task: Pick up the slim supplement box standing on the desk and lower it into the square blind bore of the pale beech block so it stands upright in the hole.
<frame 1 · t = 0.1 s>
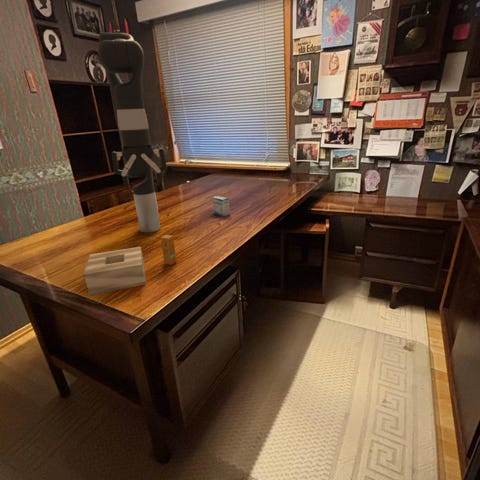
hand: (143, 187, 87), 29 cm above the table, fingers open, 8 cm apart
medicine box: (221, 214, 155), on the table
supplement box: (170, 263, 106), on the table
bore block: (119, 278, 97), on the table
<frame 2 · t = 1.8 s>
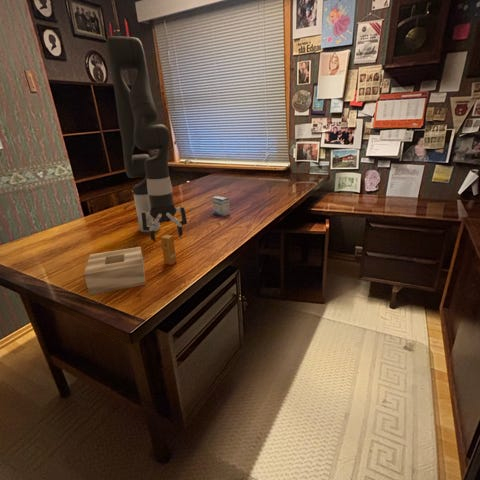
hand: (167, 238, 102), 9 cm above the table, fingers open, 8 cm apart
nothing on the table moved.
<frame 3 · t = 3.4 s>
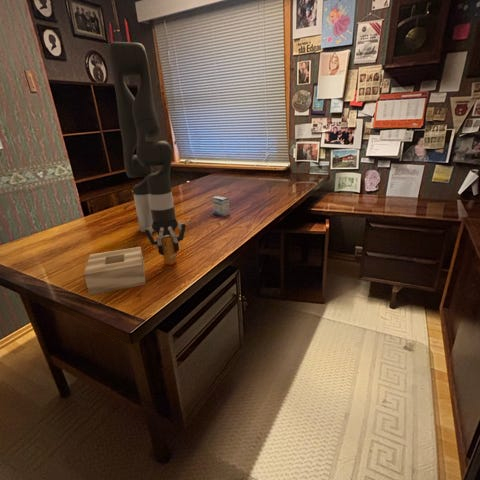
hand: (169, 252, 104), 4 cm above the table, fingers closed on supplement box, 4 cm apart
supplement box: (170, 263, 106), on the table, touching gripper
everything else where it was.
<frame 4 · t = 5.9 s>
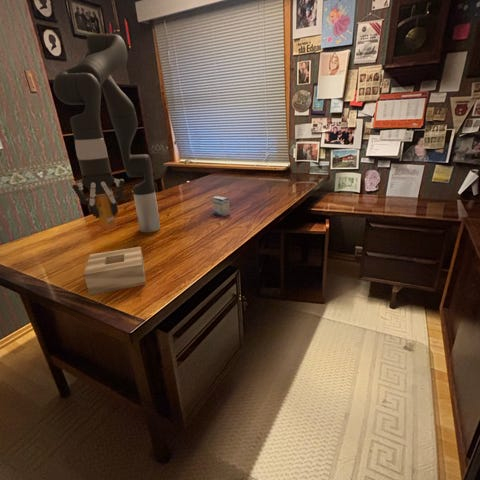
hand: (106, 215, 88), 21 cm above the table, fingers closed on supplement box, 4 cm apart
supplement box: (109, 228, 90), point 17 cm above the table, touching gripper
everything else where it was.
when the fingers open (8 cm above the table, at t = 8.4 s): supplement box drops 3 cm, resting on bore block.
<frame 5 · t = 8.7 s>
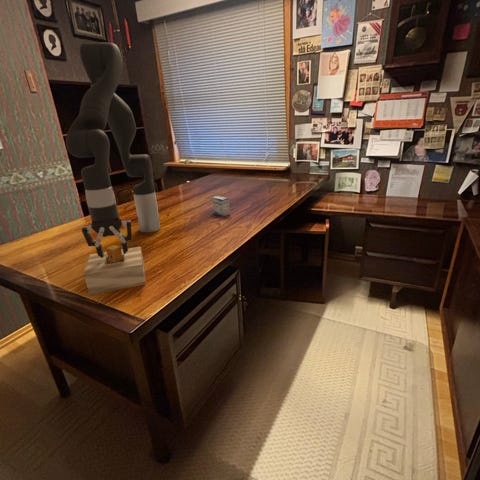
hand: (113, 254, 93), 9 cm above the table, fingers open, 6 cm apart
supplement box: (119, 275, 96), point 1 cm above the table, touching bore block
everything else where it was.
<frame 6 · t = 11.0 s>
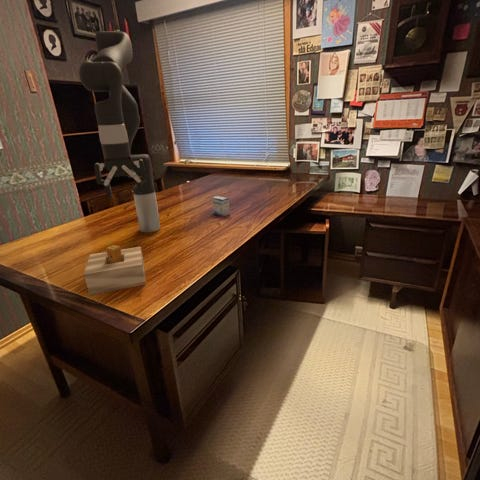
hand: (125, 195, 94), 25 cm above the table, fingers open, 8 cm apart
nothing on the table moved.
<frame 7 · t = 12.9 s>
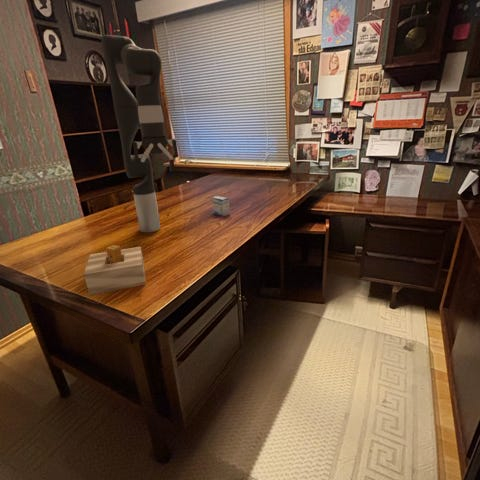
hand: (159, 171, 103), 30 cm above the table, fingers open, 8 cm apart
nothing on the table moved.
at the end: supplement box 0.2 cm off-centre on the bore block, point 0.9 cm above the bore block's base; supplement box tilted 0°; the gripper is holding nothing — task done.
